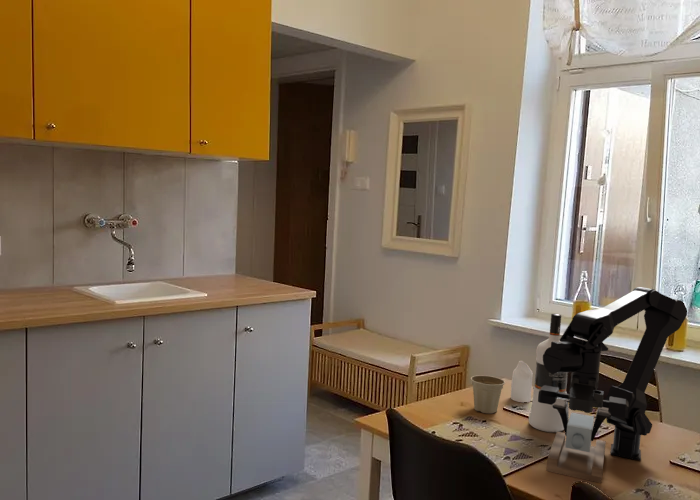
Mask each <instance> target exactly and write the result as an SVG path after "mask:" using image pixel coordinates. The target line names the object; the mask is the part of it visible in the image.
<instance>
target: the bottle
mask: <svg viewBox="0 0 700 500" xmlns="http://www.w3.org/2000/svg"><path fill="white" fill-rule="evenodd" d="M594 422H595V416H591V415H588V414H587V415H586V414H582V413H575V412H570V416H569V421H568V425H567V434H566V435H565V441H566V446H565V447H566V448H571V449H576V450H581V451H585V452H590V447H591V446H592V441H591V436H592V430H593V426H594Z"/></svg>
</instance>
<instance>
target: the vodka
mask: <svg viewBox="0 0 700 500" xmlns="http://www.w3.org/2000/svg"><path fill="white" fill-rule="evenodd" d="M549 325H550V326H549V336H548V338H547V339H545V340H544V341H541V342H539V343H538V345H537V346H536V357H535V373H534V386H532V390H533V392H532V393H533V395H532V403H531V407H530V412H529V415H528V423H529V425H530V426H531V427H533V428H534V429H536V430H539V431H541V432H546V433H557V432H563V431H564V427H563V423H562V419H561V416H560V414H559V412H558V410H557V409H554V408H553V404H552V405H550V404H545V403H540V402H538V394H539V390H540V389H541V387H542V386H544V385H546V386H552V387H558V388H559V392H561V393H567V384H568V374H569V372H567V373H556V374H553V373H550V372H548V371H547V370H546V368H545V366H544V364H543V354H544V353H545V351H546V349H547V348H549V347H551V342H553V341H556V342H561V341H560V338H561V337H560V335H561V325H562V314H560V313H551V314H550V324H549ZM567 394H568V393H567Z"/></svg>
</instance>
